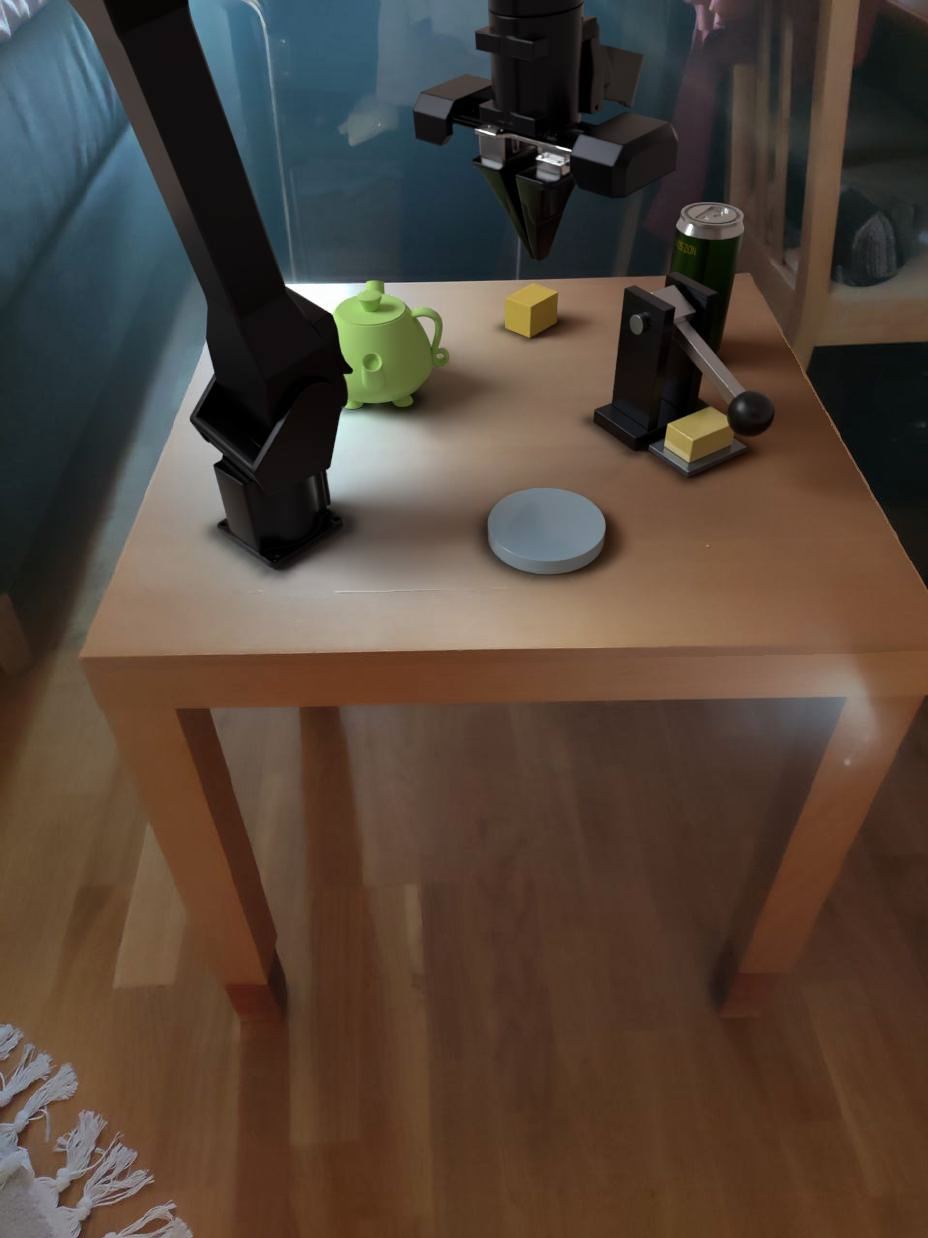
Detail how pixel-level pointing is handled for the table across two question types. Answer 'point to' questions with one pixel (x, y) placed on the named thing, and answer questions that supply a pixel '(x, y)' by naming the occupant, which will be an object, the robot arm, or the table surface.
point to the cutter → (655, 365)
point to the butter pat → (531, 310)
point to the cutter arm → (718, 372)
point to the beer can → (709, 254)
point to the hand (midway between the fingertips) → (539, 258)
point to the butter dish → (698, 464)
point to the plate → (546, 530)
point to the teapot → (386, 347)
